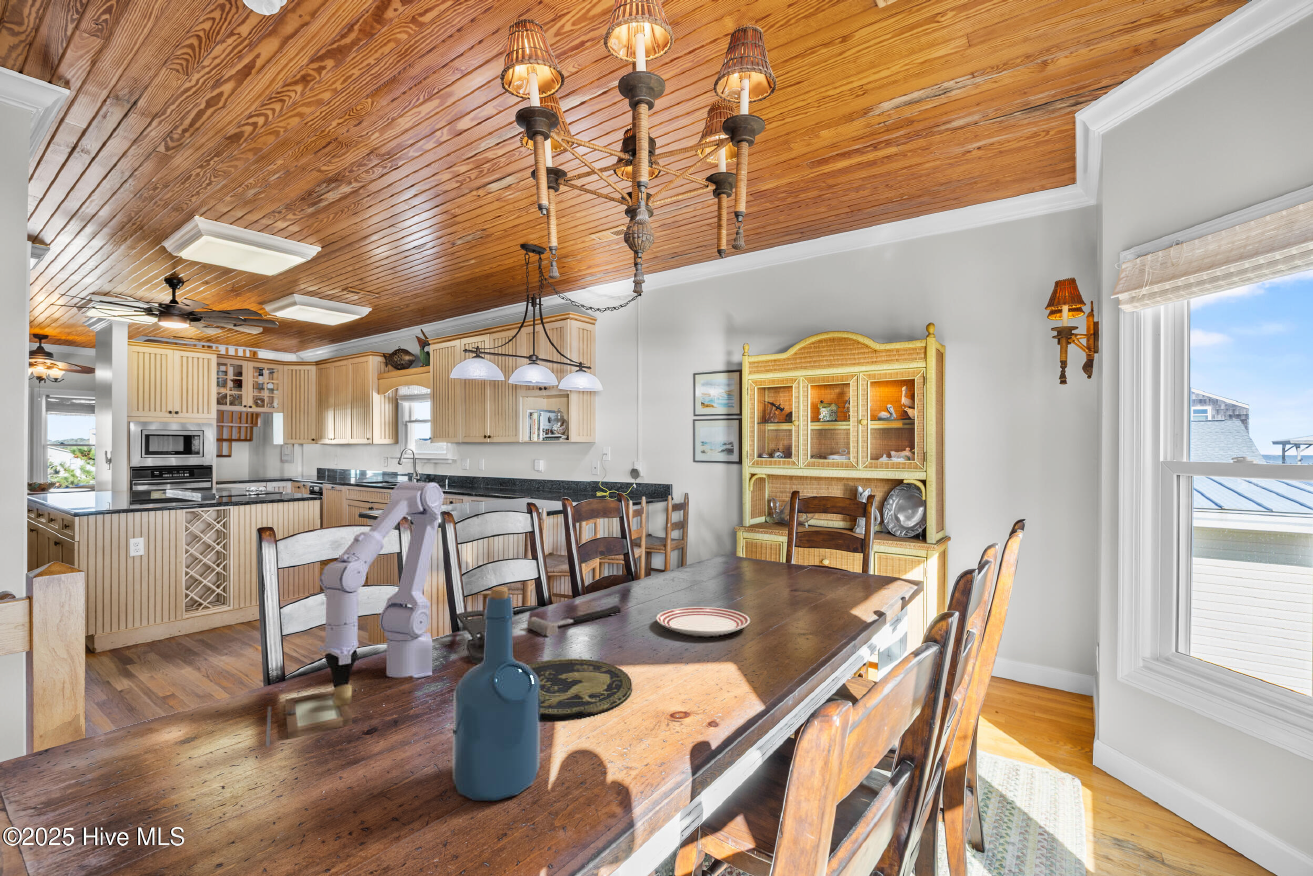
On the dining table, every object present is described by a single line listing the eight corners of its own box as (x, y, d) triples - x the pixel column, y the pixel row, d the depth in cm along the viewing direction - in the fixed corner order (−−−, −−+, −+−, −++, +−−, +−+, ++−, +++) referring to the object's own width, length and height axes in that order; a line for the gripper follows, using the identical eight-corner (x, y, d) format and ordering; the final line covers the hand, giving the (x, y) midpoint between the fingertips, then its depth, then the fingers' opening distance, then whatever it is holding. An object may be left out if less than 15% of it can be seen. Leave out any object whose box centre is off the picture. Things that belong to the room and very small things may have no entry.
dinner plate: (645, 618, 181) (645, 608, 181) (726, 612, 189) (726, 602, 190) (673, 647, 155) (673, 634, 155) (766, 638, 163) (766, 626, 163)
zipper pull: (486, 608, 166) (512, 633, 144) (485, 632, 166) (511, 660, 144) (453, 613, 161) (475, 638, 140) (453, 637, 161) (474, 666, 140)
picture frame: (346, 693, 121) (346, 672, 121) (356, 723, 108) (357, 700, 108) (285, 705, 115) (285, 684, 115) (287, 739, 102) (288, 714, 102)
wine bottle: (437, 779, 92) (440, 587, 93) (511, 749, 101) (514, 575, 102) (479, 818, 82) (482, 604, 83) (557, 781, 92) (560, 589, 92)
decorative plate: (464, 705, 115) (527, 652, 144) (464, 714, 115) (527, 660, 144) (611, 721, 109) (645, 663, 139) (611, 732, 109) (645, 671, 139)
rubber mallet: (627, 607, 183) (547, 625, 162) (627, 619, 183) (546, 639, 161) (607, 601, 190) (527, 618, 168) (607, 612, 189) (527, 631, 168)
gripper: (317, 615, 122) (315, 681, 122) (321, 634, 110) (320, 707, 110) (354, 610, 126) (353, 674, 126) (363, 628, 114) (362, 699, 113)
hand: (340, 689), depth 118 cm, fingers closed
